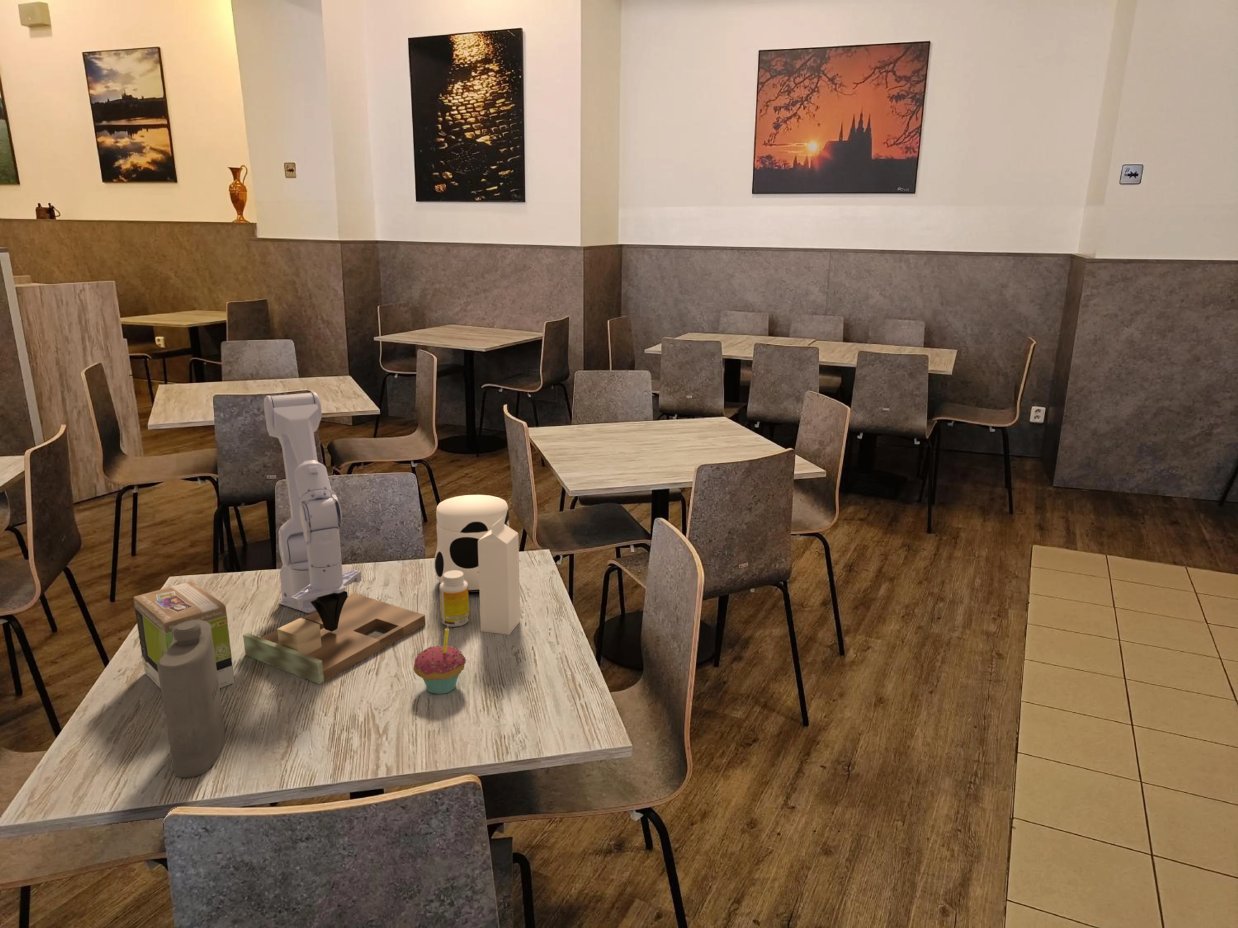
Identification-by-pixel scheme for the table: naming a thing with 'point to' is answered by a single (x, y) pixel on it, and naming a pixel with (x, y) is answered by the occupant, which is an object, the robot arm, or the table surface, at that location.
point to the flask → (192, 699)
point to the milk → (499, 579)
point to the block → (300, 636)
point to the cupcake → (440, 666)
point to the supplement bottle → (454, 599)
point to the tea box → (171, 609)
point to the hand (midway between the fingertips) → (331, 628)
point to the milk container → (465, 533)
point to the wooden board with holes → (339, 639)
